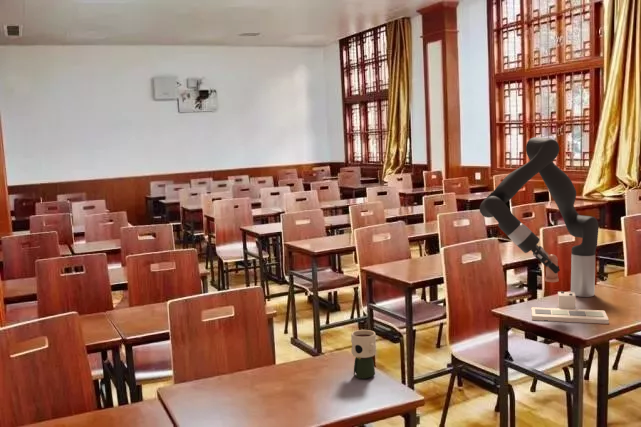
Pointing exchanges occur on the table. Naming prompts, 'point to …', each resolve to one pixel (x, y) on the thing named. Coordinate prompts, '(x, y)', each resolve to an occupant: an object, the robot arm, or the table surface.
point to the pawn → (549, 273)
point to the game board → (569, 315)
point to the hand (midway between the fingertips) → (557, 270)
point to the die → (566, 300)
